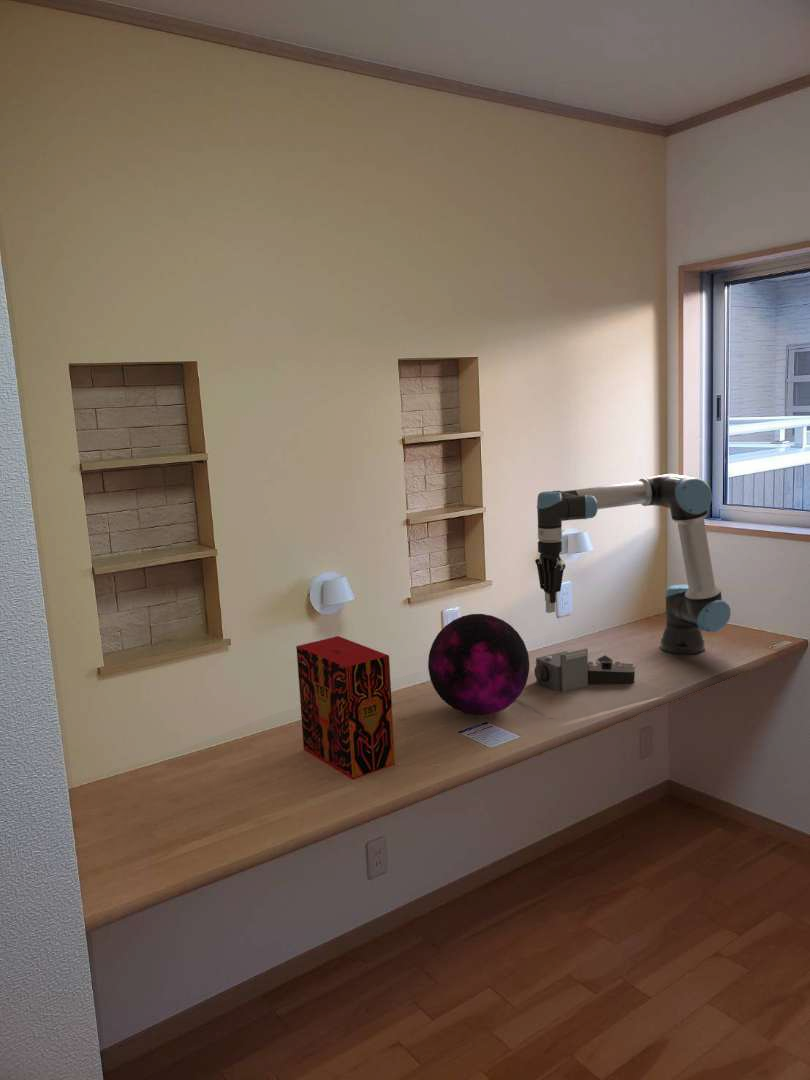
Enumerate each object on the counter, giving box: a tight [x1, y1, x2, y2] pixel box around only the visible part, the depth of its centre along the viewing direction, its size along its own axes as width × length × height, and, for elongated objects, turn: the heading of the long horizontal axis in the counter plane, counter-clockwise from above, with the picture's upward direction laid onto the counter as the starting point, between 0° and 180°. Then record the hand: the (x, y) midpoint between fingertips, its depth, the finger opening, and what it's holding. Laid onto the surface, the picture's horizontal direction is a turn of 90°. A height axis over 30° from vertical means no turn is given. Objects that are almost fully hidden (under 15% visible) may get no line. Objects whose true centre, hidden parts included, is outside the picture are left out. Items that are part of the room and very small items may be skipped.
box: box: [295, 635, 396, 780], centre depth 236 cm, size 25×13×30 cm, turn 36°
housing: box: [534, 651, 569, 692], centre depth 284 cm, size 14×11×10 cm
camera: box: [588, 654, 636, 685], centre depth 285 cm, size 16×9×10 cm, turn 84°
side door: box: [560, 648, 589, 693], centre depth 279 cm, size 10×2×13 cm, turn 118°
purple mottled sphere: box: [427, 613, 530, 716], centre depth 264 cm, size 30×30×30 cm
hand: (550, 611), depth 286 cm, fingers closed
